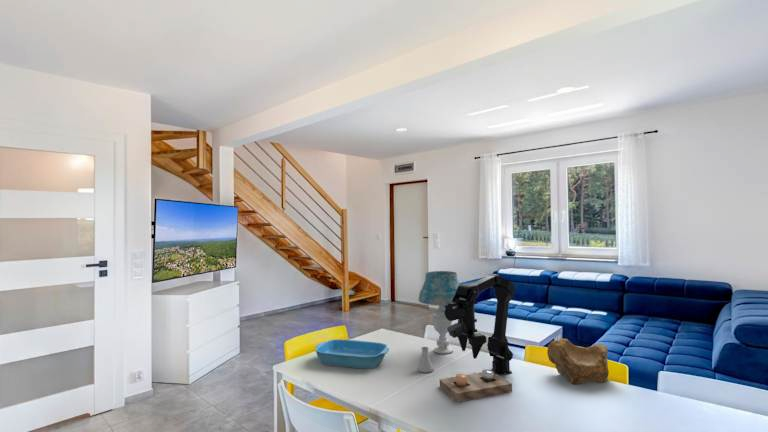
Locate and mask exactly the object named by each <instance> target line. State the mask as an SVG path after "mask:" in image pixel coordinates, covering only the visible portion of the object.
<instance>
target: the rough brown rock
mask: <svg viewBox="0 0 768 432" xmlns="http://www.w3.org/2000/svg"><path fill="white" fill-rule="evenodd" d="M547 357H548V360H549V362H551V363H552V364H554V366H555V369H556V371H557V373H558V374H559V375H561V376H564V377H565V378H566V379H567V381H568V382H569V384H571V385H581V384H583V383H584V384H585V383H587V382H588V383H589V382H593V383H594V382H595V383H599V384H600V383H605V381H606V380H607V379H608V377H609V372H610V371H609V366H608V364H609V363H608V362H609V361H608V348H607V346H606V345H604V344H602V343H601V344H599V343H595V344H594V345H591V346H587V347H585V346H579V345H575V344H573V343H572V342H571V341H570V340H569V339H568V338H560V339H557V340H552V341H550V342H549V344H548V345H547Z"/></svg>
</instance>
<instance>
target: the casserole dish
mask: <svg viewBox="0 0 768 432" xmlns="http://www.w3.org/2000/svg"><path fill="white" fill-rule="evenodd" d="M389 351H390V347H388V345H387V344H386V343H382V342H378V341H377V342H376V341H375V342H374V341H366V340H356V339H355V340H354V339H343V338H341V339H340V338H335V339H330V340H327V341H323V342H319V343H317V344H316V345H315V353H316V355H317V358H318V361H320V363H322V364H323V365H327V366H334V367H344V368H354V369H365V370H366V369H367V370H370V369H373V368H376V367H377V366H378V365H379V364H381V362H382V361H383V360H384V358H385V355H386V354H387V353H389Z"/></svg>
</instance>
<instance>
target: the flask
mask: <svg viewBox="0 0 768 432" xmlns="http://www.w3.org/2000/svg"><path fill="white" fill-rule="evenodd" d="M417 371H418V372H419V373H423V374H424V373H425V374H426V373H432V372H433V371H434V367H433V364H432V362H431V359H430V356H429V347H428V346H421V358H420V360H419V364H418V366H417Z"/></svg>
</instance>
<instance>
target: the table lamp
mask: <svg viewBox="0 0 768 432" xmlns="http://www.w3.org/2000/svg"><path fill="white" fill-rule="evenodd" d="M459 285H460V283H459V281H458V274H457V272H455V271H450V270H449V271H448V270H439V271H438V270H434V271H427V272H426V273H425V279H424V283H423V285H422V288H421V289H420V291H419V294H418V301H419V302H420V303H421V304H423V305H430V306H438V308H437V309H434V313H435V314H433V315H432V316H431V321H432V325H433V328H434V330H435V331H436V332H437V333H438V334H439V336H438V338H437V339H436V345H437V346H435V347H434V348H433V351H434V352H435V353H436V354H440V355H445V354H446V355H448V354H451V353H452V352H454V349H453V348H452V347H450V340H449V339H448V337H447V336H446V334H448V333H449V332H448V329H447V328H448V327H449V326H451V325H453V321H449V320H448V319H447V318H446V317H445V313H444V311H445V309H446V307H445V306H448V303H454V302H452V300H453V298H454V295H455V293H456V290H457V288H458V286H459ZM459 299H460V298H459ZM462 300H465V299H462Z"/></svg>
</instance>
